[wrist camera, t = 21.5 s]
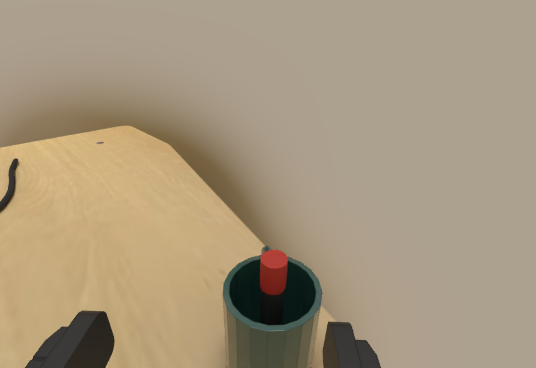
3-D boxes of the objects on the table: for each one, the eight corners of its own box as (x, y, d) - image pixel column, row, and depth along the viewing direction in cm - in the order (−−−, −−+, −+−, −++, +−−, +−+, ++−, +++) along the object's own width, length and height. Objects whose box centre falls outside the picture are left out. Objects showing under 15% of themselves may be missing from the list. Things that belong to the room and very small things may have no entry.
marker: (253, 360, 31) (254, 257, 24) (269, 346, 32) (274, 246, 26) (268, 377, 29) (274, 272, 23) (284, 362, 31) (293, 259, 24)
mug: (317, 409, 27) (333, 328, 22) (224, 415, 27) (218, 333, 22) (297, 302, 38) (304, 231, 33) (231, 304, 38) (228, 232, 33)
